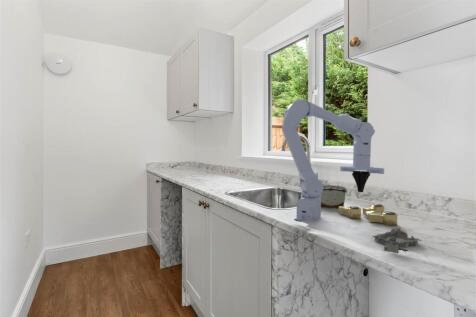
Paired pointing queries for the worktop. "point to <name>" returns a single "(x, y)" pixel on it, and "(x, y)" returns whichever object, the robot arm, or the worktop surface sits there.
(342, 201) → the food container
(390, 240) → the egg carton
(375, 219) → the knob right
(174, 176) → the worktop surface
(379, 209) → the knob back
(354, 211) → the knob left
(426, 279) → the worktop surface
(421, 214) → the worktop surface
